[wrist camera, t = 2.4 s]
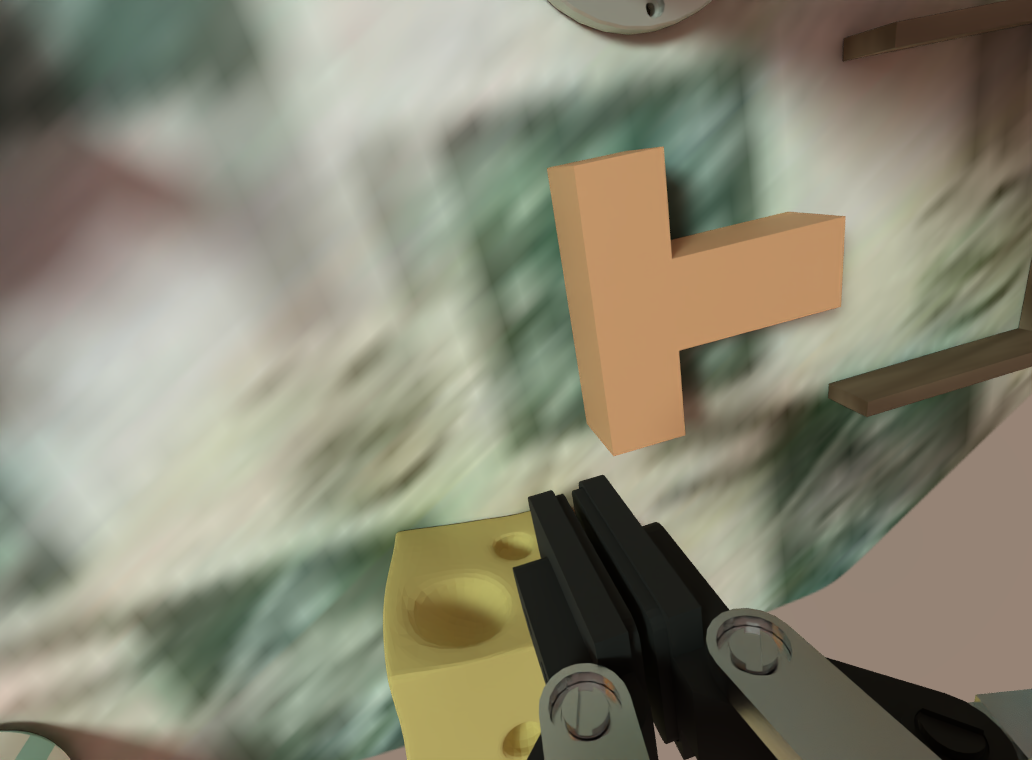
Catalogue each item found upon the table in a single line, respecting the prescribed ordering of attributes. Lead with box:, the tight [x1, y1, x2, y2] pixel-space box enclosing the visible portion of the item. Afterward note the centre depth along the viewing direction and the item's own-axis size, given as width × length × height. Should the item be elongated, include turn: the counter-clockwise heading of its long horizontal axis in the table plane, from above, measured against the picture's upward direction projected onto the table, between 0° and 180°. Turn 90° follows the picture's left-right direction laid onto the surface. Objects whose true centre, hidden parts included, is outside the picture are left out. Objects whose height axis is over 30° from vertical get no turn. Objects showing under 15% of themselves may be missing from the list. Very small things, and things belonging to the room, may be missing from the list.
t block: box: [547, 147, 845, 456], centre depth 27 cm, size 14×13×4 cm
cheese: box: [383, 511, 546, 760], centre depth 29 cm, size 10×11×10 cm
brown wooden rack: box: [828, 0, 1032, 417], centre depth 30 cm, size 20×16×3 cm
